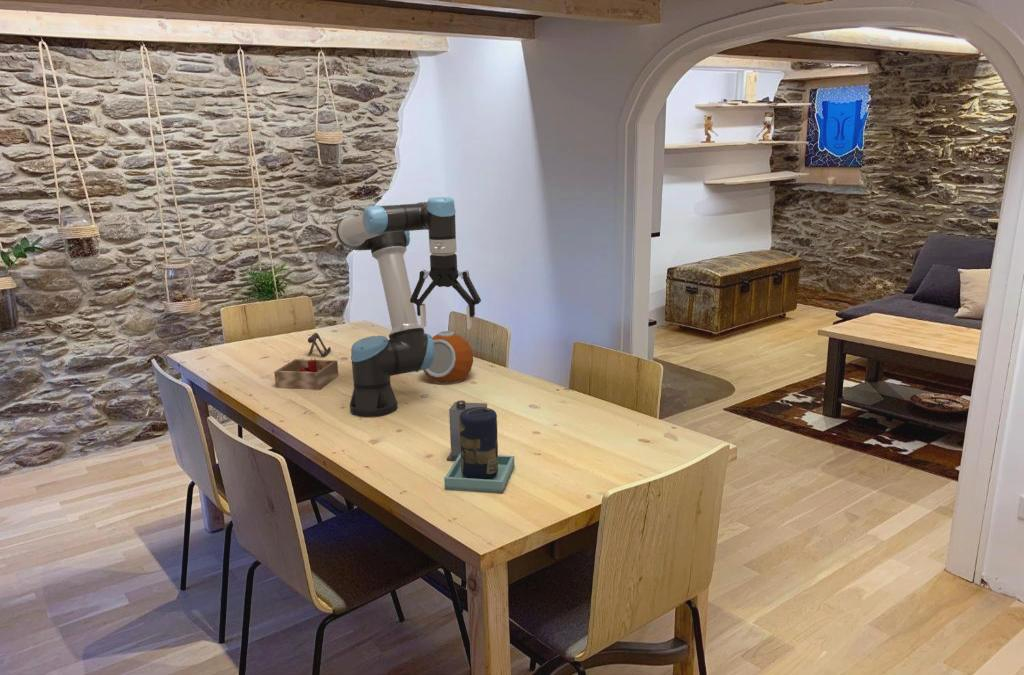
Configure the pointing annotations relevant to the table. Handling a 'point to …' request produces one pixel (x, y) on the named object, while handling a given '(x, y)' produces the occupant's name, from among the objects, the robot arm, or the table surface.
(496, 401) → the table surface
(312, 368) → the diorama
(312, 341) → the portable electronic device stand
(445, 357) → the alarm clock
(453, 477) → the tray
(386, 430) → the table surface
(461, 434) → the canister
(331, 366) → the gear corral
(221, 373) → the table surface
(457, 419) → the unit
